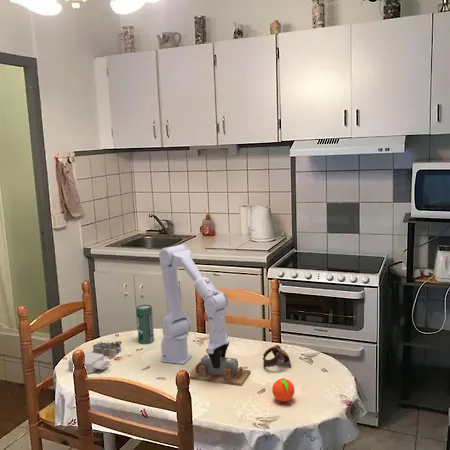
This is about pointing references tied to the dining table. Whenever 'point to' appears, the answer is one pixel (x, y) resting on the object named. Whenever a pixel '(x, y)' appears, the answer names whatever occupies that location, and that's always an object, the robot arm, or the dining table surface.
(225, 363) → the power strip
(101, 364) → the charger
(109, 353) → the egg carton
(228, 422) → the dining table surface
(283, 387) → the clementine
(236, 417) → the dining table surface
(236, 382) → the rack
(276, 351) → the brown open ring
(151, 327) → the can
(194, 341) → the dining table surface
